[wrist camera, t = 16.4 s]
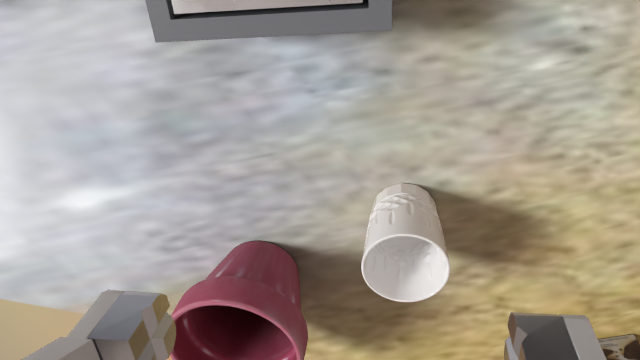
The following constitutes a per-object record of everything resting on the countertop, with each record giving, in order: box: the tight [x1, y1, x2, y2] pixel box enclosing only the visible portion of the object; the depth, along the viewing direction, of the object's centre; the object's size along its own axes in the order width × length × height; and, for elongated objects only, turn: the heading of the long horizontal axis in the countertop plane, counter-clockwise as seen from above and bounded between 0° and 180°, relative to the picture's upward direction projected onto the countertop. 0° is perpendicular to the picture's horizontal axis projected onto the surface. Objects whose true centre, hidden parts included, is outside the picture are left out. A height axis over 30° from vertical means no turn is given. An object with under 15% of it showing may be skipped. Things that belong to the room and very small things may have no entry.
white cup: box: [361, 183, 450, 302], centre depth 48 cm, size 8×8×10 cm
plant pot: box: [170, 241, 308, 360], centre depth 54 cm, size 14×14×13 cm
